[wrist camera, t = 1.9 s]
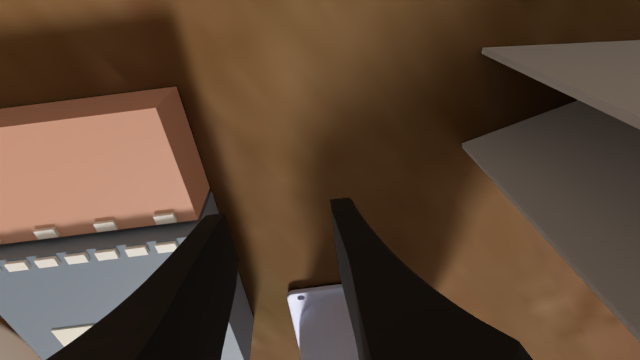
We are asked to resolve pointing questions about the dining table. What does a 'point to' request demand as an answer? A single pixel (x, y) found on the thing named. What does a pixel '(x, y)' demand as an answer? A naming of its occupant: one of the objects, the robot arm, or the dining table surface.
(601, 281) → the tall gray slab
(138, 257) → the grey tabbed panel
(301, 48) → the dining table surface
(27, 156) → the stub
